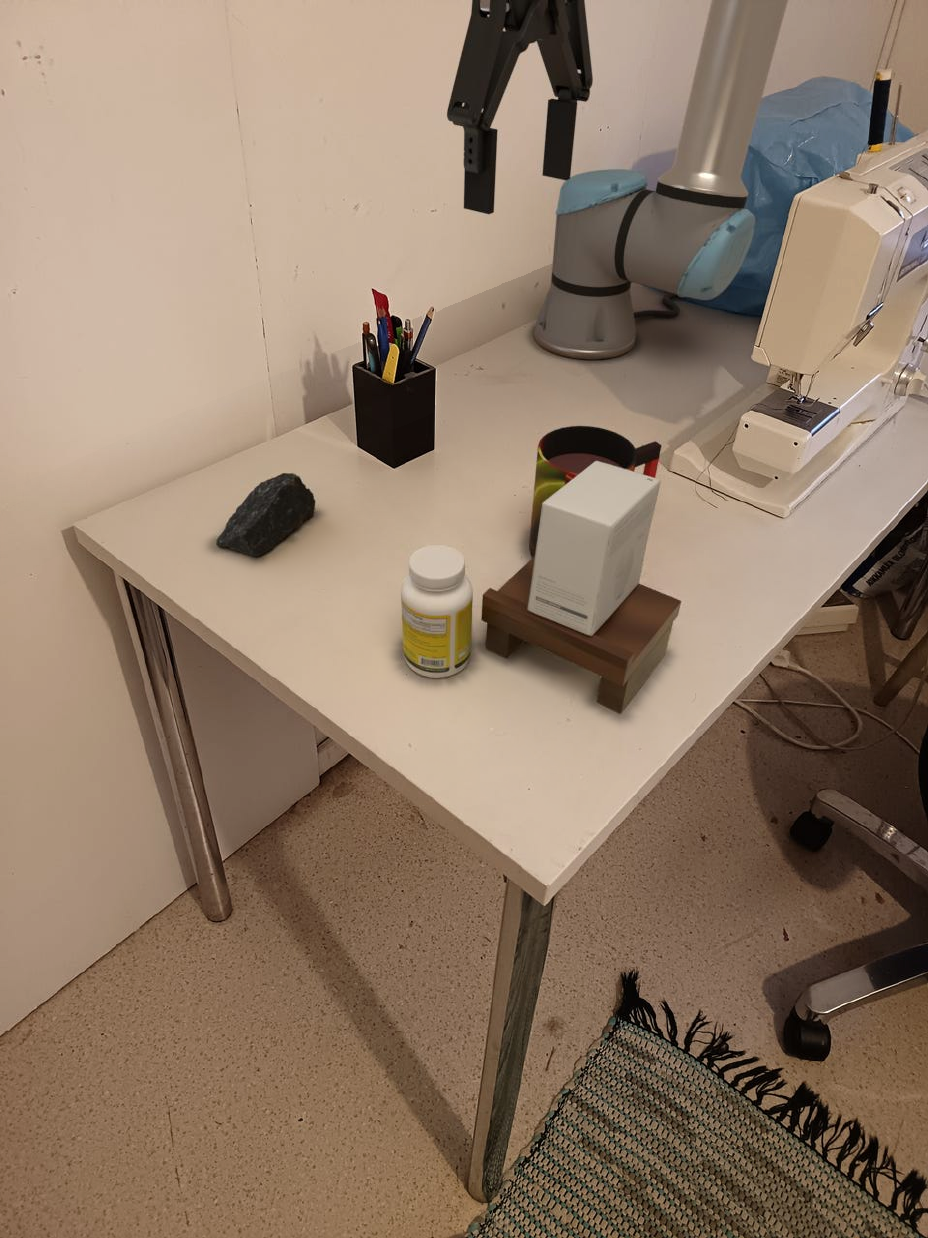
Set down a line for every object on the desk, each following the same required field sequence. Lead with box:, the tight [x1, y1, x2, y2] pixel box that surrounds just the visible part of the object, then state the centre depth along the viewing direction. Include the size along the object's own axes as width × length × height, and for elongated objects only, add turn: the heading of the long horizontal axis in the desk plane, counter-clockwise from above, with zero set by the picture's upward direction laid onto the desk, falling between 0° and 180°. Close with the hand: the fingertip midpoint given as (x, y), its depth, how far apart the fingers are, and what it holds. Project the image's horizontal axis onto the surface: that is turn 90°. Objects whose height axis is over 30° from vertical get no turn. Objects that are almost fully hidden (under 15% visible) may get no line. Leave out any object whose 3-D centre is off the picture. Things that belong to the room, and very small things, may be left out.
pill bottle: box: [400, 544, 474, 679], centre depth 76 cm, size 6×6×11 cm
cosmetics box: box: [527, 461, 662, 636], centre depth 74 cm, size 10×6×10 cm, turn 148°
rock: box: [215, 472, 316, 557], centre depth 92 cm, size 7×10×6 cm
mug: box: [528, 425, 662, 559], centre depth 90 cm, size 10×14×12 cm
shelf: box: [480, 556, 682, 715], centre depth 79 cm, size 11×14×7 cm
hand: (519, 193), depth 81 cm, fingers open, 13 cm apart
